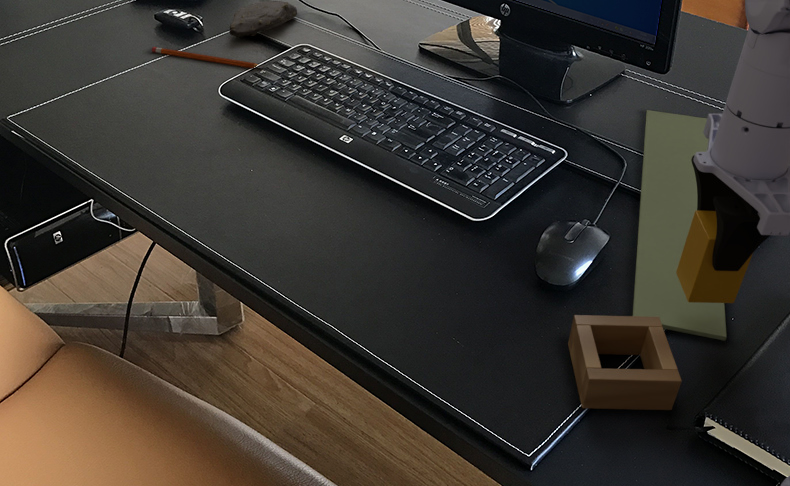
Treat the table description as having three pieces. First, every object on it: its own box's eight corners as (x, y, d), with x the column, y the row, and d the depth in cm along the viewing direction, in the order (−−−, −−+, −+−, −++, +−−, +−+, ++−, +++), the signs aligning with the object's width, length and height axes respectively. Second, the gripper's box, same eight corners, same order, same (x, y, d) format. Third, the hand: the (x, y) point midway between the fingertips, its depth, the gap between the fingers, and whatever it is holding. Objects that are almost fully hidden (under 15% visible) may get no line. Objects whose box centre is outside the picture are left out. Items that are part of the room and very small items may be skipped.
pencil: (154, 50, 114) (154, 46, 113) (267, 69, 110) (267, 64, 109) (151, 53, 113) (151, 48, 113) (265, 71, 109) (264, 66, 109)
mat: (725, 340, 69) (726, 336, 69) (632, 322, 71) (633, 318, 70) (711, 122, 99) (712, 119, 99) (646, 113, 101) (647, 109, 101)
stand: (671, 410, 63) (682, 381, 61) (581, 408, 63) (589, 379, 61) (650, 345, 69) (659, 316, 66) (567, 343, 69) (573, 314, 66)
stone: (289, 8, 125) (302, -11, 121) (302, 42, 124) (315, 25, 120) (213, 10, 118) (224, -10, 114) (226, 46, 117) (238, 28, 113)
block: (734, 303, 68) (758, 240, 64) (687, 302, 68) (709, 239, 64) (719, 273, 71) (742, 211, 67) (675, 272, 71) (695, 210, 67)
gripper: (685, 64, 64) (649, 200, 73) (744, 160, 53) (694, 308, 61) (772, 66, 64) (726, 201, 73) (849, 162, 53) (784, 309, 61)
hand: (717, 250), depth 67 cm, fingers closed on block, 4 cm apart
